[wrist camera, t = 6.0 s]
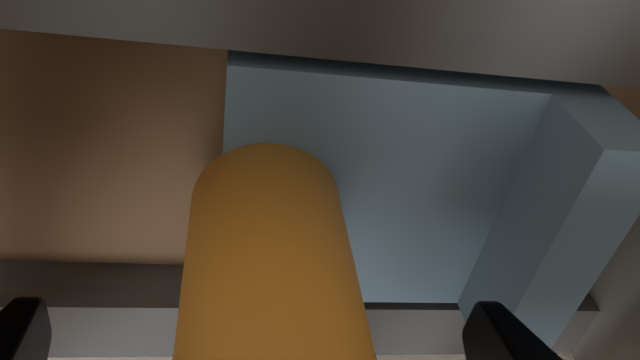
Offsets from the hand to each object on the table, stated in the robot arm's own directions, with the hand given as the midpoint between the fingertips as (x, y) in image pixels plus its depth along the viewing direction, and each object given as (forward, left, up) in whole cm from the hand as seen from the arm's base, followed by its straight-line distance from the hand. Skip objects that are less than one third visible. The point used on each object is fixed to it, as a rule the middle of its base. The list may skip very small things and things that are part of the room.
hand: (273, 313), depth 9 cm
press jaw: (-3, 0, -4) cm, 5 cm away
